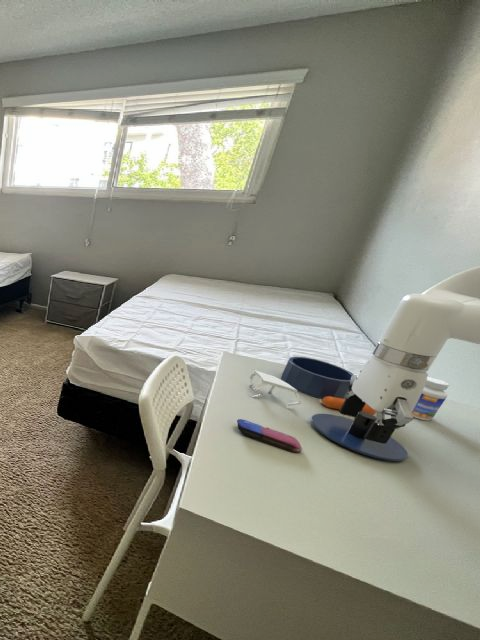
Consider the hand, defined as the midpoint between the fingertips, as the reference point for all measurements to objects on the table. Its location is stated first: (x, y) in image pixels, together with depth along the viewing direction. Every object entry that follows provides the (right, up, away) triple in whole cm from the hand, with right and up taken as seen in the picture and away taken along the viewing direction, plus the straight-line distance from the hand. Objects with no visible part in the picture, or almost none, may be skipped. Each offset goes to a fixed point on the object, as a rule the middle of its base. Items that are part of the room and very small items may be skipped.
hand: (360, 427), depth 75 cm
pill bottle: (+27, -1, +12) cm, 30 cm away
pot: (+11, +4, +22) cm, 25 cm away
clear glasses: (-7, +3, +15) cm, 17 cm away
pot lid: (0, -2, +1) cm, 2 cm away
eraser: (-21, -2, -1) cm, 22 cm away
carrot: (+15, +1, +10) cm, 18 cm away
